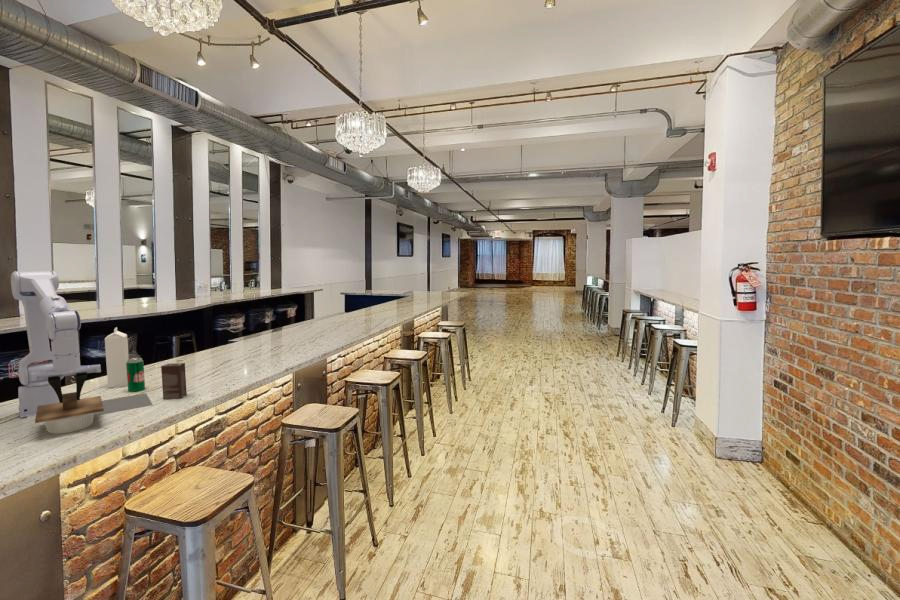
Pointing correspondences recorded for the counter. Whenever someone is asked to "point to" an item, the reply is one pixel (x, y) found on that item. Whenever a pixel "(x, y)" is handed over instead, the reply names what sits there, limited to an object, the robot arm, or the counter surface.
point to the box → (173, 381)
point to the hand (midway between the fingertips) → (69, 400)
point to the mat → (124, 403)
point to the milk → (116, 358)
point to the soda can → (135, 374)
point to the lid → (68, 408)
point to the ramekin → (69, 423)
